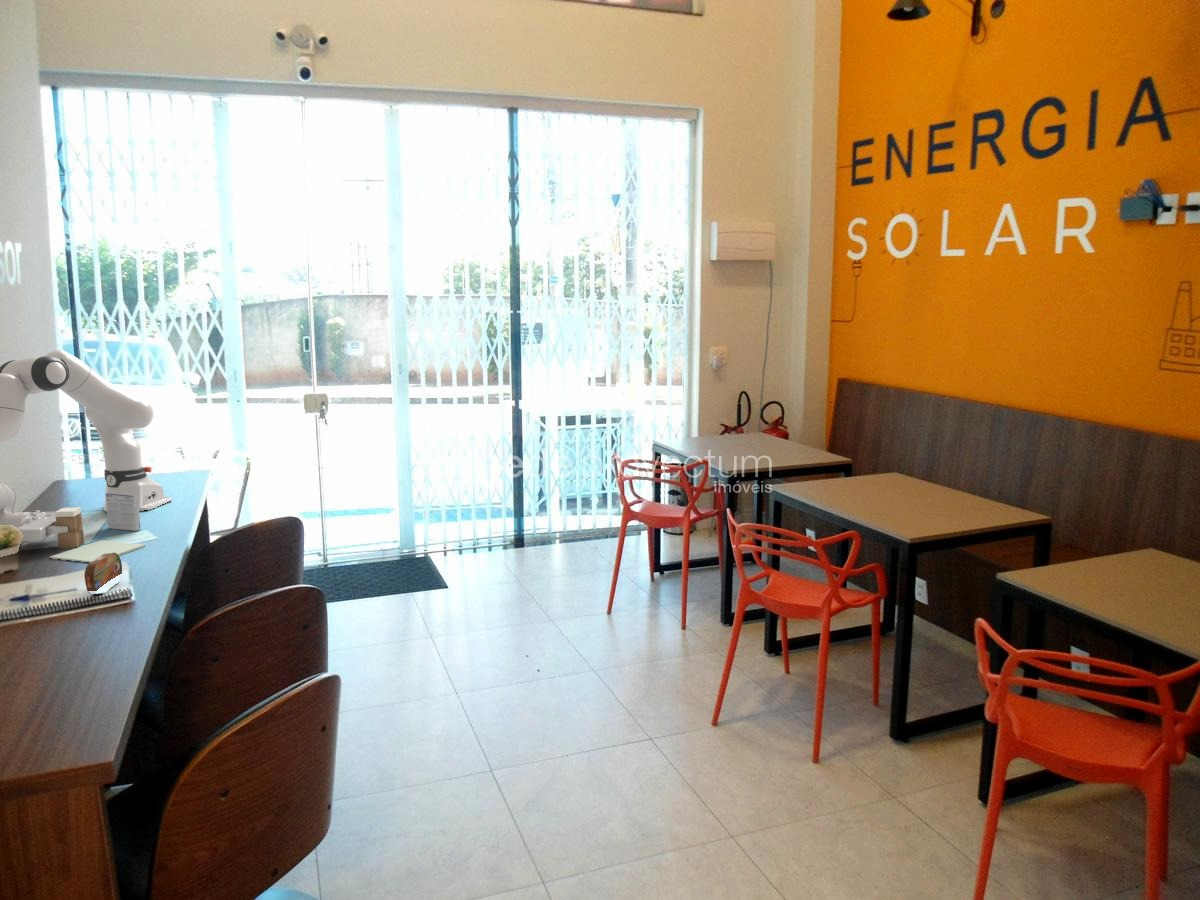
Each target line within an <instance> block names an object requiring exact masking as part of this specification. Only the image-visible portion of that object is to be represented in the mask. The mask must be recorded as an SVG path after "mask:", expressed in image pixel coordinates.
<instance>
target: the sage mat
mask: <svg viewBox="0 0 1200 900" xmlns="http://www.w3.org/2000/svg"><path fill="white" fill-rule="evenodd" d="M145 547H146V544H144V543H133V542H125V541H123V542H122V541H115V540H104V539H101V540H97V541H94V542H91V543H87V544H86V545H85V544H83V545H81V546H79V547H78V548H71V549H70V550H66V551H63V552H60V553H57V554H54V555H51V556H49V559H50V558H52V559H51V560H57V559H61V560H60V561H66V560H72V561H71V562H74V561H82V562H81V563H83V562H92V561H94V560H95V559H97V558H98V557H100V556H101V555H103V554H107V553H117V554H118V555H119V557H120V556H123V555H125V554H128V553H131V552H134V551H137V550H140V549H142V548H145Z"/></svg>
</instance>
